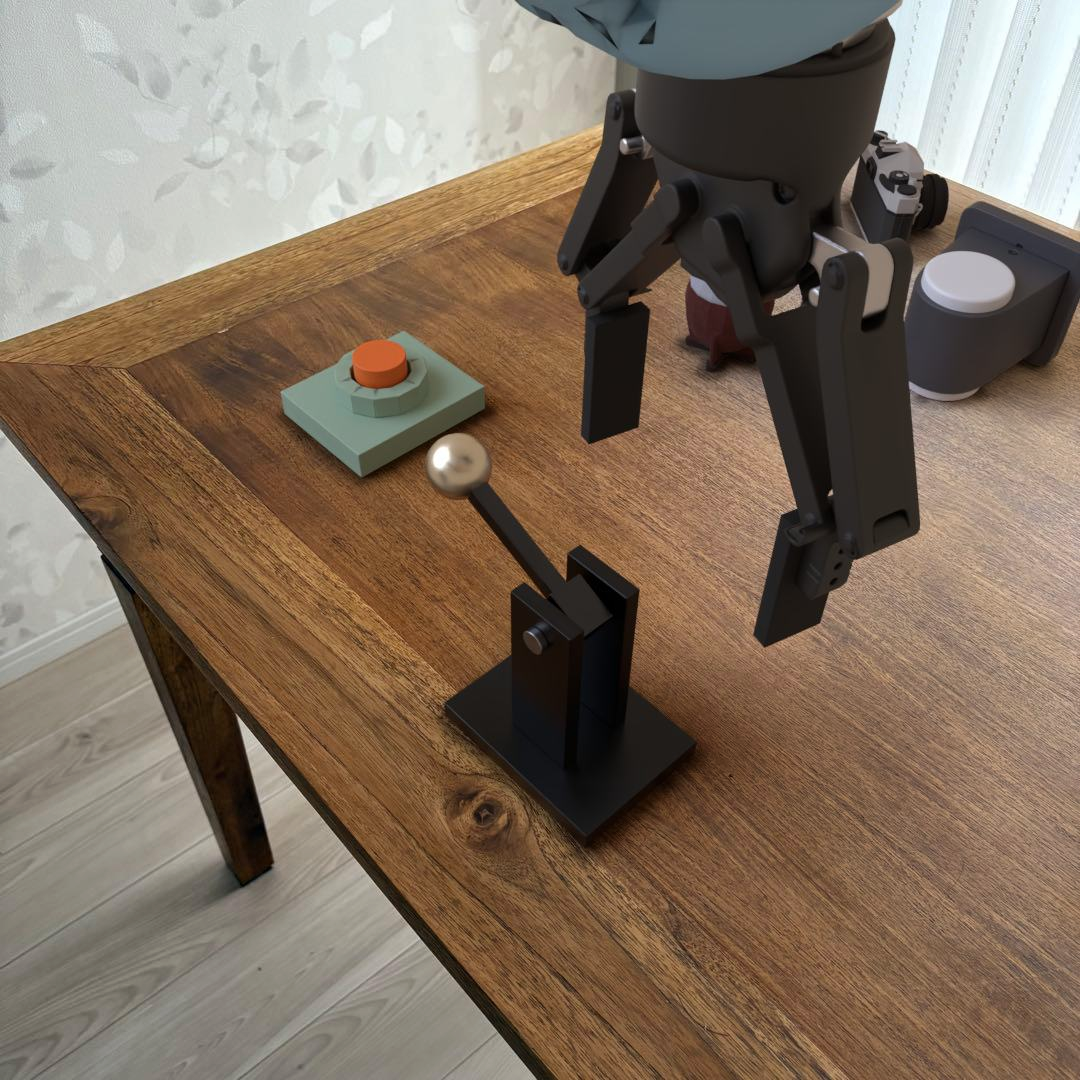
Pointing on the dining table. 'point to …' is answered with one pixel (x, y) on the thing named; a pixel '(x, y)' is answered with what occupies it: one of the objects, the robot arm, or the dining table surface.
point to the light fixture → (989, 303)
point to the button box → (383, 407)
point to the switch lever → (509, 526)
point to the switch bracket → (573, 709)
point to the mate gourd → (714, 325)
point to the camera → (895, 191)
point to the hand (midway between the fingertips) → (690, 522)
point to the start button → (379, 364)
